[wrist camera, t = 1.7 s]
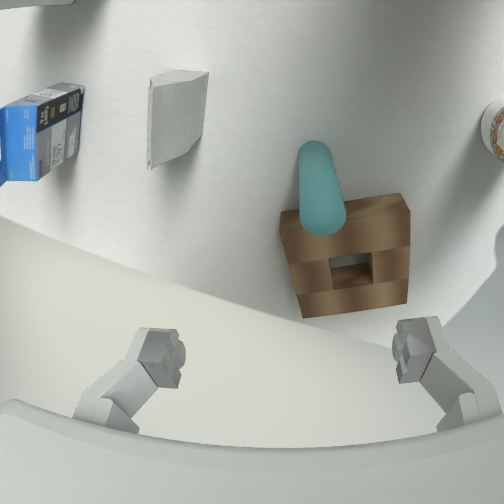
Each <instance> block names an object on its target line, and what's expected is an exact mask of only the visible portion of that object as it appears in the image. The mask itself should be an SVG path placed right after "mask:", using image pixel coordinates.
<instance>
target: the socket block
mask: <svg viewBox="0 0 504 504" xmlns="http://www.w3.org/2000/svg"><path fill="white" fill-rule="evenodd" d="M343 203H344V207H345V211H346V220H345V223H344V225H343V226H342V228H341V229H340V230H338V231H337V232H335V233H334V234H331V235H327V236H317V235H314V234H311V233H309V232H308V231H306V230H305V229H304V228H303V226H302V224H301V222H300V209H297V210H291V211H286V212H281V221H280V235H281V239H282V242H283V246H284V250H285V253H286V257H287V260H288V264H289V268H290V271H291V275H292V279H293V283H294V286H295V290H296V294H297V298H298V301H299V305H300V309H301V313H302V317H303V318H311V317H319V316H327V315H335V314H342V313H349V312H356V311H363V310H369V309H376V308H382V307H388V306H394V305H400V304H406V303H407V293H408V279H409V259H410V210H409V208H408V207H407V205H406V203H405V201H404V199H403V197H402V196H401V194H400V193H399V194H392V195H385V196H378V197H372V198H365V199H359V200H352V201H346V202H343ZM362 253H368V263H364V264H358V265H351V266H344V267H338V268H331V265H330V259H329V258H336V257H342V256H349V255H356V254H362Z"/></svg>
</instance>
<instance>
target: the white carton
mask: <svg viewBox="0 0 504 504" xmlns="http://www.w3.org/2000/svg"><path fill="white" fill-rule="evenodd" d="M208 76H209V72H200V71H188V70H171V71H168V72H166V73H163V74H160V75H157V76H155V77H152V78H151V79H150V87H149V92H148V119H147V169H148V166H149V164H150V166H151V170H152V169H153V168H155V167H156V166H158V165H160V164H162V163H164V162H167V161H169V160H172V159H174V158H177V157H179V156H182V155H184V154H186V153H187V152H188V151H189V150H190V148H191V147H192V146H193V145H194V143H195V142H196V141H197V140H198V139H199V137H200V136H201V135H202V134H203V123H204V113H205V103H206V94H207V85H208Z"/></svg>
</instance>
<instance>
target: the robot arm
mask: <svg viewBox="0 0 504 504" xmlns="http://www.w3.org/2000/svg"><path fill="white" fill-rule="evenodd" d="M396 328H397V333H396V334H394V337H393V343H392V350H393V356H394V359H395V360H396V361H397V362H398V365H397V368H396V371H397V376H398V381H399V384H402V383H411V382H418V381H420V383H421V385H422V386H423V387H424V388H425V389H426V390H427V392H428V393H429V394H430V395H431V396H432V397H433V399H434V400H435V401H436V402H437V403H438V405H439V406H440V407H441V408H442V409H443V410H444V412H445V413H446V415H445V416H444V417H443V418H442V420H441V421H440V422H439V423H438V425H437V432H436V433H431V434H426V435H421V436H416V437H410V438H404V439H398V440H391V441H384V442H376V443H368V444H358V445H348V446H334V447H316V448H253V447H233V446H220V445H209V444H200V443H191V442H182V441H176V440H169V439H163V438H156V437H150V436H145V435H140V434H138V432H139V427H138V426H137V425H136V424H135V423H134V422H133V421H132V420H131V418H132V417H133V415H134V414H135V413H136V412H137V411H138V410H139V409H140V408H141V407H142V406H143V404H145V402H146V401H147V400H148V399H149V398H150V397H151V396H152V395H153V394H154V392H155V391H156V390H157V389H158V387H162V388H178V384H179V381H180V378H181V373H180V371H179V369H180V368H181V367H182V366H183V365H184V363H185V357H186V356H185V355H186V353H185V352H186V351H185V347H184V344H183V342H181V341H180V340H179V339H178V337H179V334H178V332H177V330H175V329H159V328H158V329H157V328H139V329H138V330H137V332H136V334H135V337H134V339H133V341H132V344H131V346H130V349H129V351H128V353H127V356H126V359H125V360H121V361H120V362H119V363H118V364H116V365H115V366H114V367H113V368H112V369H110V370H109V371H108V372H107V373H105V374H104V375H103V376H102V377H100V378H99V379H98V380H97V381H96V382H95V383H93V384H92V385H91V386H90V387H88V388H87V389H86V390H85V391H84V392H83V393H82V395H81V397H80V400H79V402H78V405H77V407H76V410H75V412H74V415H73V417H72V418H70V417H66V416H63V415H60V414H57V413H53V412H51V411H48V410H45V409H42V408H39V407H36V406H33V405H31V404H28V403H25V402H23V401H20V400H17V399H11V400H9V401H7V402H6V403H4V404H3V405H1V406H0V504H504V414H502V410H501V407H500V403H499V400H498V397H497V393H496V390H495V387H494V385H493V384H492V383H491V382H490V381H488V380H487V379H486V378H485V377H484V376H483V375H482V374H480V373H479V372H478V371H477V370H476V369H475V368H474V367H472V366H471V365H470V364H469V363H468V362H467V361H466V360H464V359H463V358H462V357H461V356H460V355H458V354H457V353H456V352H455V351H454V350H451V351H450V349H449V346H448V343H447V340H446V337H445V334H444V332H443V329H442V326H441V323H440V321H439V318H438V317H437V316H431V317H424V318H423V317H421V318H413V319H405V320H399V321H398V322H397V326H396Z"/></svg>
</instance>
